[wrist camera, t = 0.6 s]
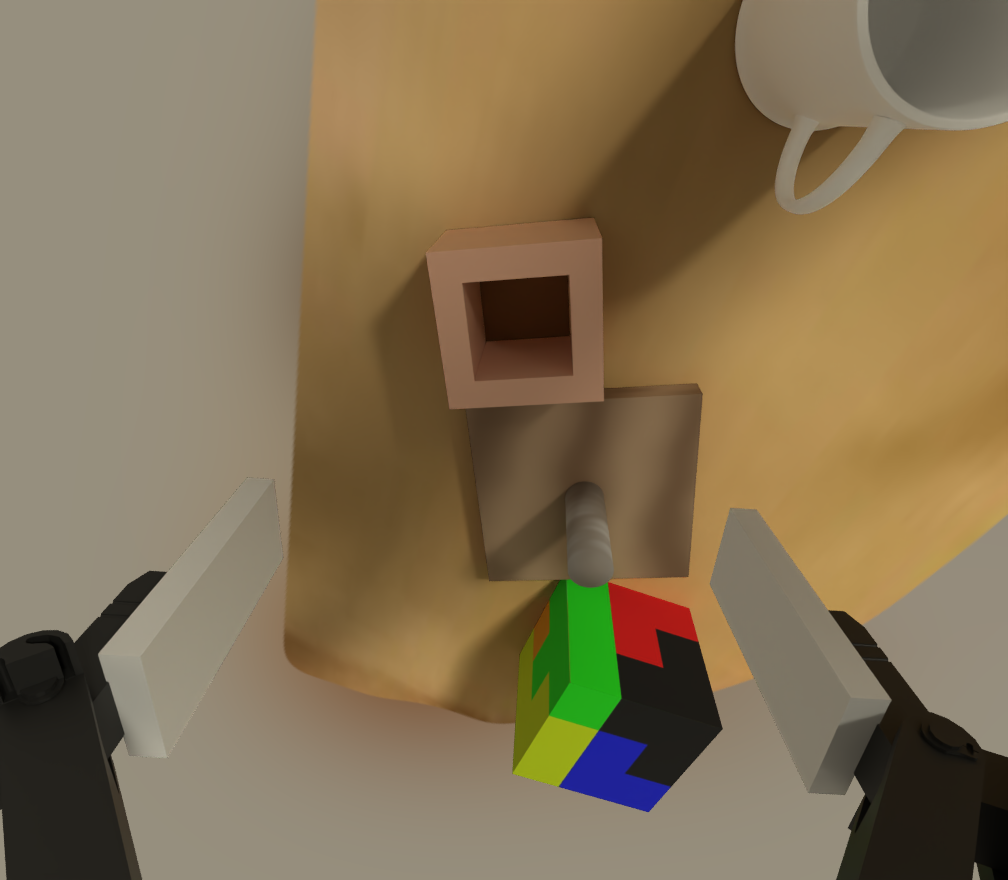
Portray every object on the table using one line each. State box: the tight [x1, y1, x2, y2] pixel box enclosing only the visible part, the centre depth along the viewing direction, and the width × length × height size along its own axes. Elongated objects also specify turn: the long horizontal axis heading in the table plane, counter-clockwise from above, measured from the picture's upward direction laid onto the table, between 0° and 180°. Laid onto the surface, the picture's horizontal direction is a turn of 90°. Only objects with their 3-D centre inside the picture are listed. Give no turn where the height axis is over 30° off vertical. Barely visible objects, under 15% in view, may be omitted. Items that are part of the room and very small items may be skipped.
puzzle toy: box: [513, 579, 723, 812], centre depth 42 cm, size 10×10×10 cm
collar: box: [426, 217, 604, 409], centre depth 31 cm, size 8×8×6 cm
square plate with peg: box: [466, 384, 703, 588], centre depth 36 cm, size 14×14×8 cm
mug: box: [735, 0, 1008, 214], centre depth 22 cm, size 12×8×12 cm
